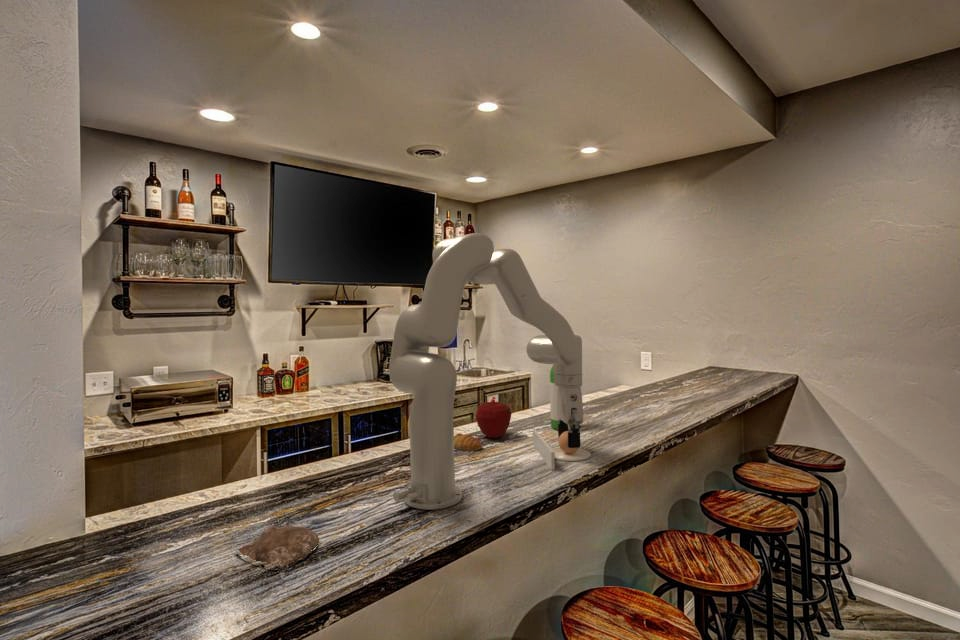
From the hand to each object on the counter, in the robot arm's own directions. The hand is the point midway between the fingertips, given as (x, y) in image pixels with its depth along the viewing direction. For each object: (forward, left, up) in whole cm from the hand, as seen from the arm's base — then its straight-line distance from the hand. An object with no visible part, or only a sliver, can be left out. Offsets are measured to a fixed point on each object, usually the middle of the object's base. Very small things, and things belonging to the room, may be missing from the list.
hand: (568, 442), depth 136 cm
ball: (0, 0, 0) cm, 0 cm away
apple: (+1, +28, -4) cm, 28 cm away
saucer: (0, 0, -4) cm, 4 cm away
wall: (-5, +5, -4) cm, 8 cm away
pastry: (-12, +28, -4) cm, 30 cm away
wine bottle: (+23, +17, -4) cm, 29 cm away
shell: (-76, +11, -4) cm, 77 cm away
